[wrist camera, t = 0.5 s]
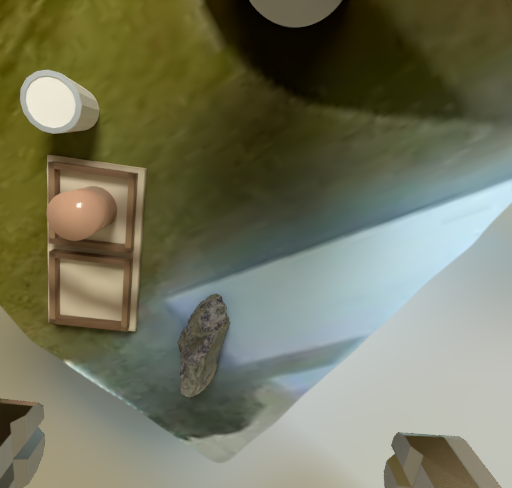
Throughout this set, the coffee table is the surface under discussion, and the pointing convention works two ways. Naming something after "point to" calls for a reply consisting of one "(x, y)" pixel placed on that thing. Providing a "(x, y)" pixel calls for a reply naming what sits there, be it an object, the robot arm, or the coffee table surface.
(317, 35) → the coffee table surface
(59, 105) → the white cylinder
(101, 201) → the tan rounded cylinder
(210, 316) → the mineral rock
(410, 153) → the coffee table surface
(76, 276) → the divided wooden tray
